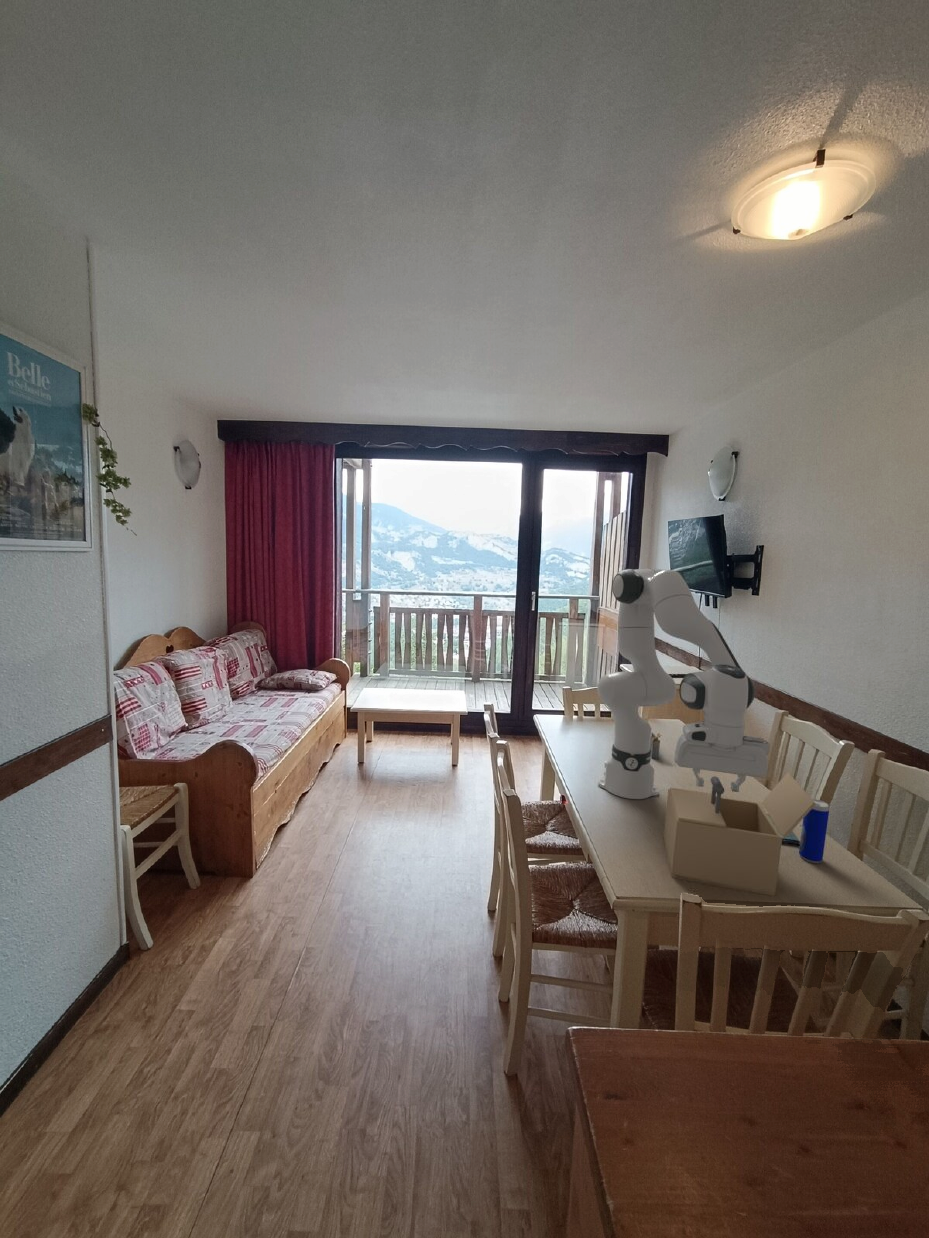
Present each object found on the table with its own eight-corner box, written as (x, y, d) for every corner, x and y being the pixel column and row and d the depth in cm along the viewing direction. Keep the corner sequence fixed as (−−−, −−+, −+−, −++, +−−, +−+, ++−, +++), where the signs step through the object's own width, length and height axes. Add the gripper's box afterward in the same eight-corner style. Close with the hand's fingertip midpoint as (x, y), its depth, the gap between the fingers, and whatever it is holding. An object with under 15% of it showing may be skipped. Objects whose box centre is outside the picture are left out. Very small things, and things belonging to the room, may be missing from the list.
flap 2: (783, 836, 119) (785, 837, 119) (813, 802, 117) (816, 803, 116) (761, 802, 135) (763, 804, 135) (787, 772, 133) (790, 773, 133)
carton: (663, 838, 143) (668, 789, 141) (753, 854, 138) (759, 802, 136) (671, 876, 126) (677, 820, 124) (774, 896, 120) (782, 837, 119)
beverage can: (800, 850, 141) (807, 796, 139) (823, 858, 137) (830, 802, 136) (797, 858, 137) (804, 802, 135) (821, 866, 133) (828, 809, 132)
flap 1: (669, 789, 141) (672, 762, 140) (712, 795, 138) (715, 768, 137) (678, 819, 124) (681, 789, 123) (726, 827, 122) (730, 796, 121)
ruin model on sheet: (659, 759, 202) (661, 735, 201) (651, 759, 202) (653, 734, 201) (650, 749, 213) (652, 725, 212) (642, 748, 214) (644, 725, 212)
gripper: (766, 734, 128) (760, 789, 130) (676, 724, 133) (671, 776, 135) (775, 743, 122) (768, 800, 124) (680, 731, 127) (674, 787, 129)
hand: (716, 788), depth 130 cm, fingers open, 6 cm apart
